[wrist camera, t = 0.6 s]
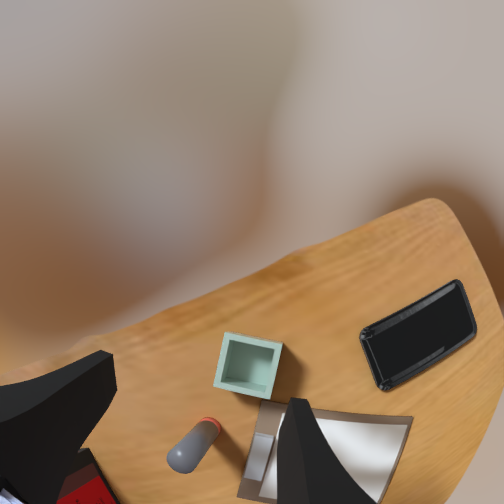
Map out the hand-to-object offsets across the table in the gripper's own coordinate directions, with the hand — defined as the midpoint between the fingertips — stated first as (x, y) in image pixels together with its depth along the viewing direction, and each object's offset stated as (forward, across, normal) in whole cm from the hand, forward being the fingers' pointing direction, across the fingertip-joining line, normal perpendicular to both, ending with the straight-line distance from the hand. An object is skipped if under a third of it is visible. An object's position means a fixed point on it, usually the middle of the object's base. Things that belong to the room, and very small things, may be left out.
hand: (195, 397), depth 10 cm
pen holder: (+18, -2, +11) cm, 21 cm away
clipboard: (+12, -13, +20) cm, 27 cm away
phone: (+20, -21, +5) cm, 29 cm away
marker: (+14, +1, +19) cm, 24 cm away
